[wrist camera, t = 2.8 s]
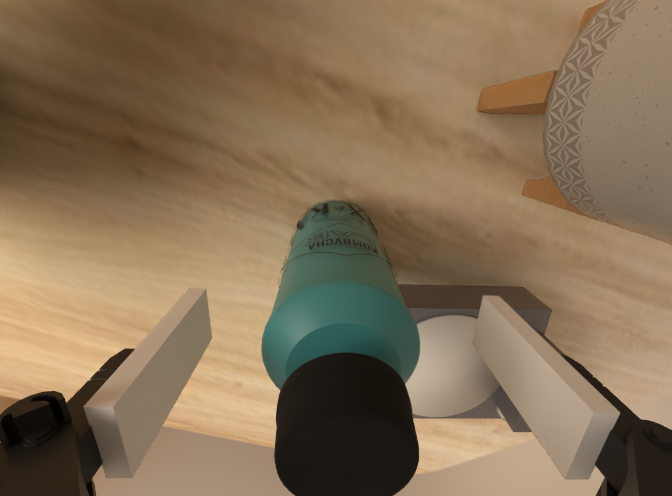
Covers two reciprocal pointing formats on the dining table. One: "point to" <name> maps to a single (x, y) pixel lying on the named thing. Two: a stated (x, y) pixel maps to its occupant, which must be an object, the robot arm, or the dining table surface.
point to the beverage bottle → (341, 361)
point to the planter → (606, 118)
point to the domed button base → (462, 352)
